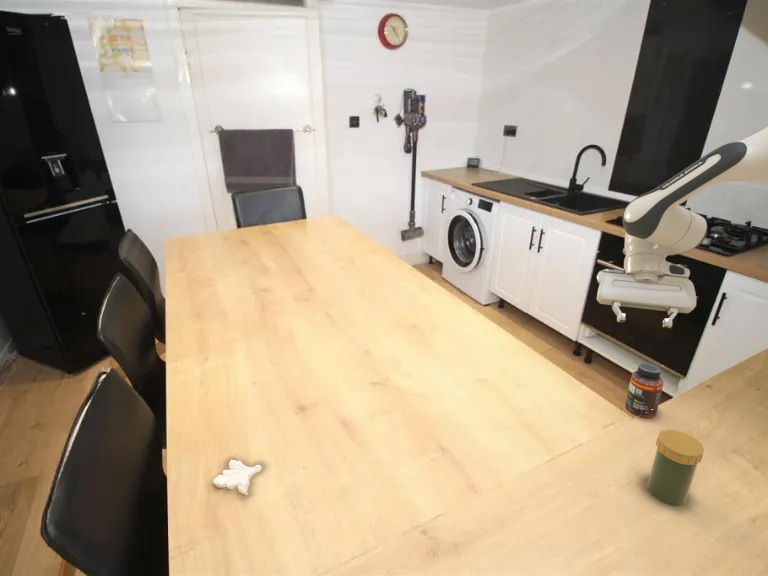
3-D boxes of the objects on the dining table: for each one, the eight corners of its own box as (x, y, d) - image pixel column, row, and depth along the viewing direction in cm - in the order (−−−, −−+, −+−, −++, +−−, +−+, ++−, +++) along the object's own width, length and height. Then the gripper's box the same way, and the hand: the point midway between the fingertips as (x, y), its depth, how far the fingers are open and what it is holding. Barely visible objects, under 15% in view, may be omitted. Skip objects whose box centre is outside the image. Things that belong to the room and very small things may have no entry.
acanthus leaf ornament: (247, 498, 71) (245, 490, 71) (210, 494, 72) (208, 486, 72) (265, 465, 78) (263, 457, 78) (231, 462, 79) (229, 454, 78)
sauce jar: (688, 493, 70) (703, 443, 67) (682, 513, 66) (698, 462, 63) (650, 476, 74) (663, 428, 70) (643, 494, 70) (656, 445, 66)
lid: (703, 450, 67) (706, 441, 66) (697, 471, 63) (700, 461, 62) (660, 433, 71) (662, 424, 70) (652, 452, 67) (654, 443, 66)
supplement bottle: (653, 407, 92) (664, 363, 88) (657, 423, 87) (669, 377, 83) (623, 400, 95) (632, 357, 91) (625, 415, 90) (635, 371, 86)
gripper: (599, 262, 102) (597, 313, 97) (697, 270, 95) (700, 325, 90) (595, 273, 107) (592, 322, 102) (687, 282, 100) (689, 334, 95)
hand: (643, 324), depth 96 cm, fingers open, 8 cm apart
